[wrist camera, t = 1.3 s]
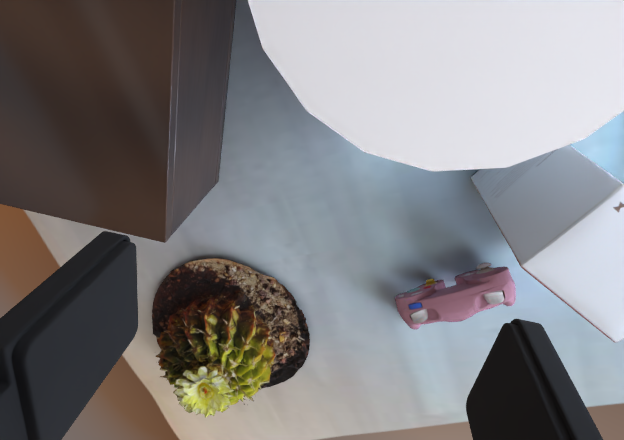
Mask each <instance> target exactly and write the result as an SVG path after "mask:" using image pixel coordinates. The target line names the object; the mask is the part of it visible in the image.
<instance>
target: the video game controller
mask: <svg viewBox="0 0 624 440" xmlns="http://www.w3.org/2000/svg"><path fill="white" fill-rule="evenodd" d="M490 265H491V264H490V263H482V264H479V265H478V266H477V267H476V269H480V270H475V271H470V272H466V273H463V274H460V275H457V276H456V277H455V281H456V284H457V285H455V286H451V287H447V288H446V287H445V284H444V281H443V280H436V281H434V279H428V280H427V281H426V283H425V284H423V285H421V286H419V287H417V288H415V289H412V290H409V291H407V292H404V293H402V294H399V295H398V296H396V297H395V301H396V304H397V308H398V312H399V314H400V316H401V317H402V318H403V320H404V321H405V322H406V323H407V325H408V326H409V327H410V328H412V329H418V328H419V327H420V325H421V324H428V323H434V322H440V321H447V322H458V321H463V320H465V319H467V318H469V317H471V316H473V315H474V314H476V313H478V312H480V311H483V310H486V309H490V308H493V307H495V306H498V305H500V304H504V305H506V306H512V305H513V304H514V303H515V299H516V289H515V283H514V281H513V279H512V277H511V275H510V272H509V270H508V268H507V267H497V268H491V267H489V266H490Z"/></svg>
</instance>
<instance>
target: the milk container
mask: <svg viewBox="0 0 624 440" xmlns="http://www.w3.org/2000/svg"><path fill="white" fill-rule="evenodd" d="M248 3H249V6H250V9H251V13H252V16H253V19H254V22H255V26H256V29H257V32H258V35H259V39H260V42H261V45H262V48H263V50H264V51H265V52H266V54H267V55H268V57H269V58H270V60H271V61H272V62H273V64H274V65H275V67H276V68H277V69H278V71H279V72H280V74H281V75H282V77H283V78H284V79H285V81H286V82H287V84H288V85H289V86H290V88H291V89H292V91H293V92H294V94H295V95H296V96H297V98H298V99H299V101H300V102H301V104H302V105H303V106H304V108H305V109H306V111H307V112H309V113H310V114H312V115H313V116H314V117H316V118H317V119H319V120H320V121H321V122H323V123H324V124H326V125H327V126H328V127H330V128H331V129H333V130H334V131H335V132H337V133H338V134H340V135H341V136H342V137H344V138H345V139H347V140H348V141H349V142H351V143H352V144H354V145H355V146H356V147H358V148H359V149H361V150H362V151H363V152H365V153H369V154H372V155H376V156H379V157H383V158H386V159H390V160H393V161H397V162H400V163H404V164H408V165H411V166H415V167H418V168H422V169H425V170H429V171H451V170H470V169H489V168H507V167H509V166H512V165H515V164H518V163H520V162H523V161H526V160H529V159H531V158H534V157H537V156H540V155H542V154H545V153H548V152H550V151H553V150H556V149H559V148H561V147H564V146H567V145H570V144H572V143H575V142H578V141H580V140H583V139H585V138H587V137H588V136H589V135H591V134H592V133H594V132H595V131H596V130H598V129H599V128H600V127H602V126H603V125H605V124H606V123H607V122H609V121H610V120H612V119H613V118H614V117H616V116H617V115H619V114H620V113H621V112H623V111H624V0H248Z"/></svg>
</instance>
